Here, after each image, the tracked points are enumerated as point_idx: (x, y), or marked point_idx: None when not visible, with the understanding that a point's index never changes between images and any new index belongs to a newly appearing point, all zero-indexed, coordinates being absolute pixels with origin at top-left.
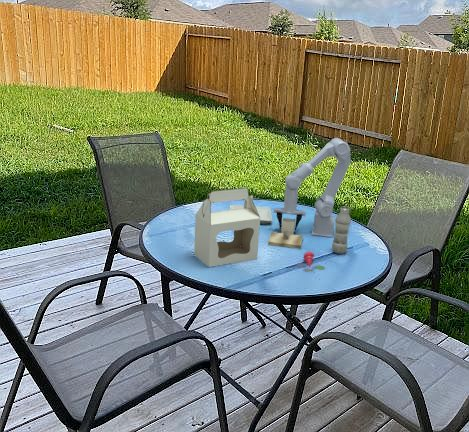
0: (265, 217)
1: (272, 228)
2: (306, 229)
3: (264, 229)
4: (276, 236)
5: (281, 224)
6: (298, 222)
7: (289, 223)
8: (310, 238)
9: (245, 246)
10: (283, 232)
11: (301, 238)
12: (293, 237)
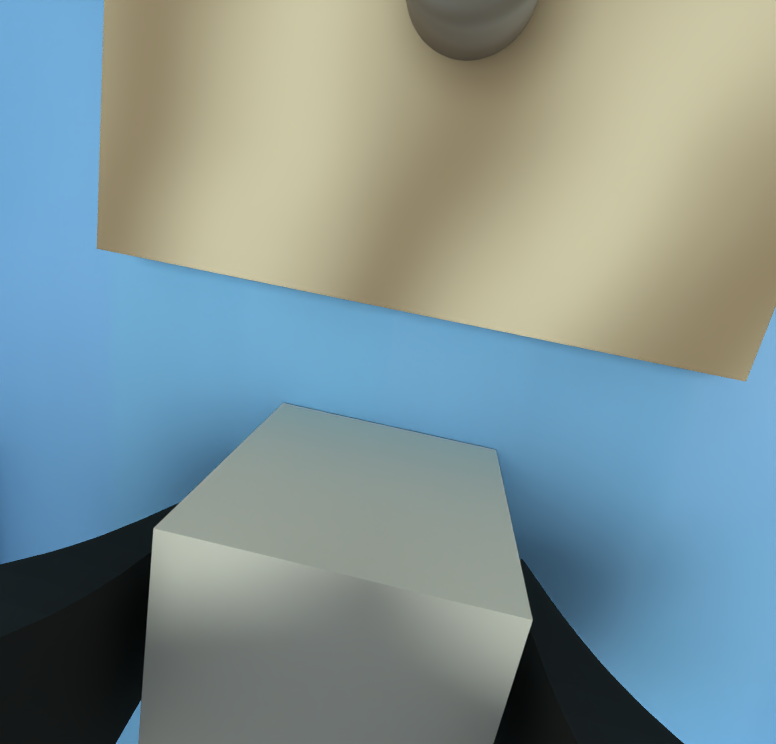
0: None
1: None
2: None
3: (770, 635)
4: (687, 103)
5: None
6: (38, 557)
7: (310, 544)
8: (4, 290)
9: None
10: (456, 452)
11: (115, 72)
12: (283, 105)
